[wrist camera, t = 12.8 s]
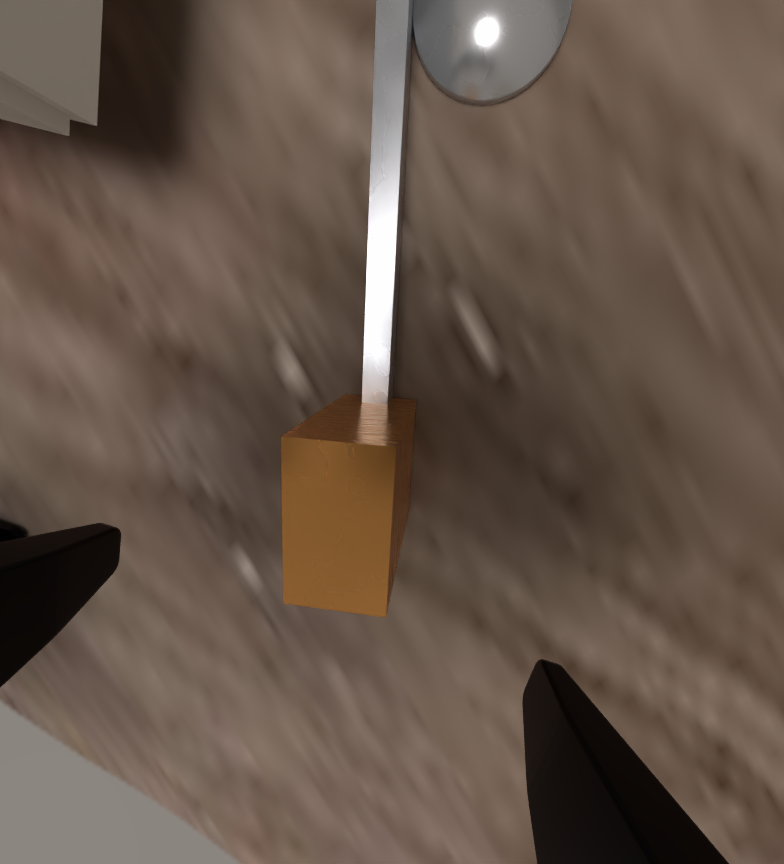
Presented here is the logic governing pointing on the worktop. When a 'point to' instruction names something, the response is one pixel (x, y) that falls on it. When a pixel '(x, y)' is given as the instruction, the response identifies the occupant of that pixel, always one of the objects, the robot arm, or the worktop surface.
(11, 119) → the gray overhanging block
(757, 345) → the worktop surface
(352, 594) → the blade tool
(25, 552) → the robot arm
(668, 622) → the worktop surface
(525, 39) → the grey flat round piece
